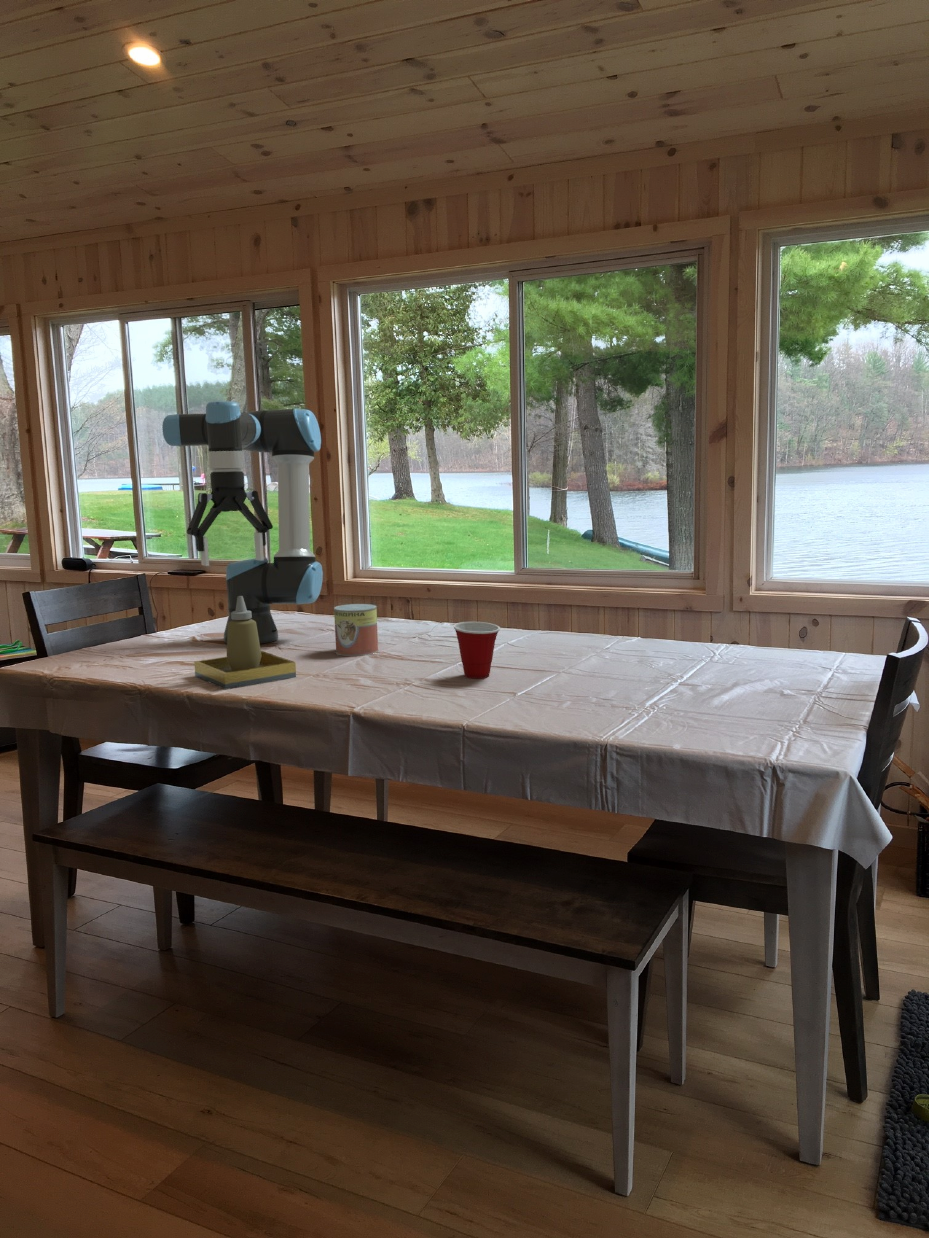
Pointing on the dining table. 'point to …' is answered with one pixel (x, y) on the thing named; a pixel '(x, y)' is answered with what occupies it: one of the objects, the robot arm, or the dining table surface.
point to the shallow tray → (245, 671)
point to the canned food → (356, 629)
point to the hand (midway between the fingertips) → (233, 562)
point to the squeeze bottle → (242, 639)
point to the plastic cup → (476, 647)
